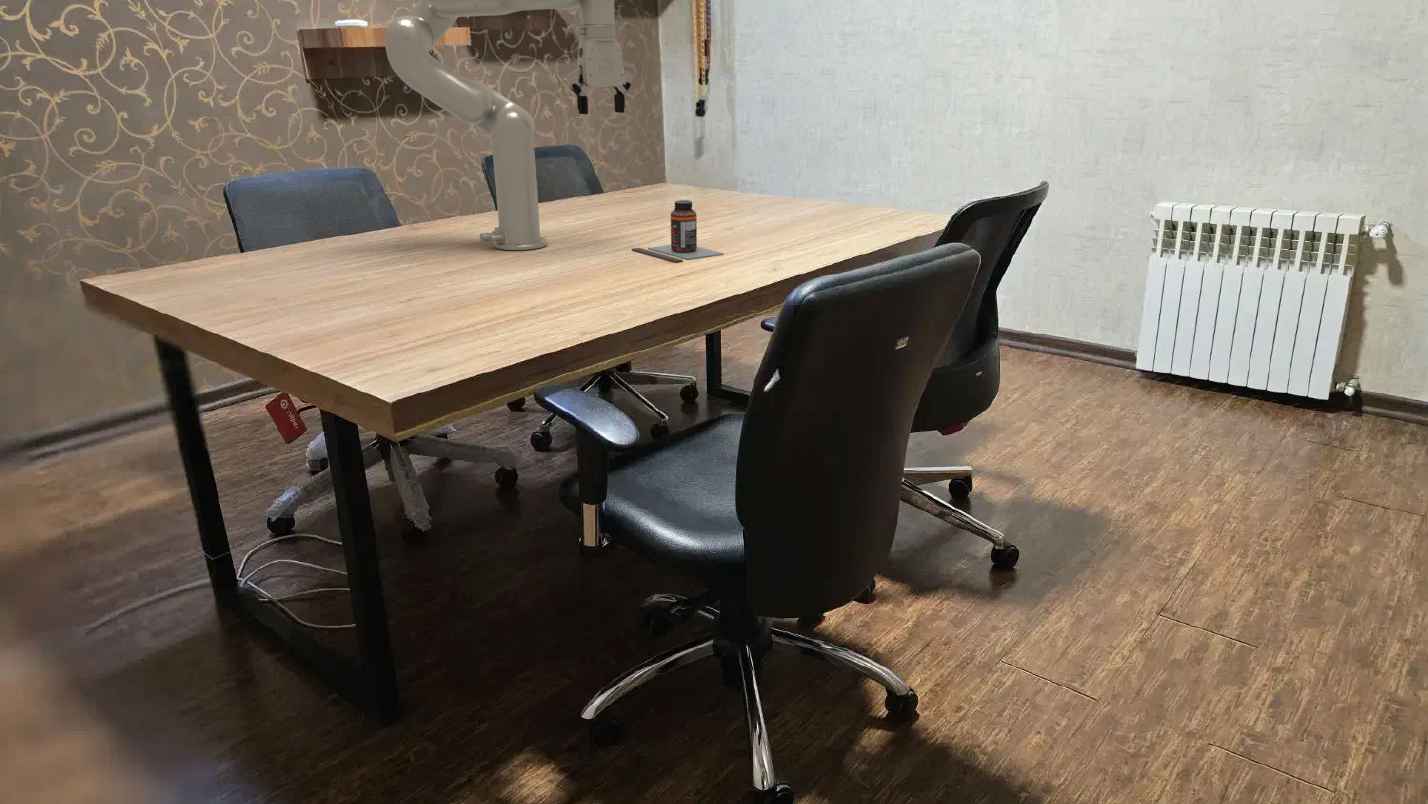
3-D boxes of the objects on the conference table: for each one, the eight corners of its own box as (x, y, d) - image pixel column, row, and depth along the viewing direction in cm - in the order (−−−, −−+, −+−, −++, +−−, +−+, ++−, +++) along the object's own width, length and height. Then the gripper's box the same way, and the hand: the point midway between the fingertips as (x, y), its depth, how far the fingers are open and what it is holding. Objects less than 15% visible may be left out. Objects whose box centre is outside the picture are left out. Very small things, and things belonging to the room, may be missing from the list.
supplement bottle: (667, 249, 225) (666, 200, 221) (690, 247, 228) (690, 198, 224) (677, 254, 220) (676, 203, 216) (701, 251, 223) (700, 202, 219)
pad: (687, 260, 215) (687, 258, 215) (648, 249, 227) (648, 247, 227) (723, 254, 221) (723, 253, 221) (682, 244, 233) (682, 243, 233)
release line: (675, 263, 212) (675, 261, 212) (631, 250, 226) (631, 248, 226) (683, 261, 213) (683, 260, 213) (638, 249, 227) (638, 247, 227)
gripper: (572, 33, 210) (577, 115, 216) (639, 34, 220) (642, 112, 226) (556, 34, 216) (560, 114, 222) (622, 34, 226) (624, 111, 231)
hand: (601, 113), depth 224 cm, fingers open, 9 cm apart
